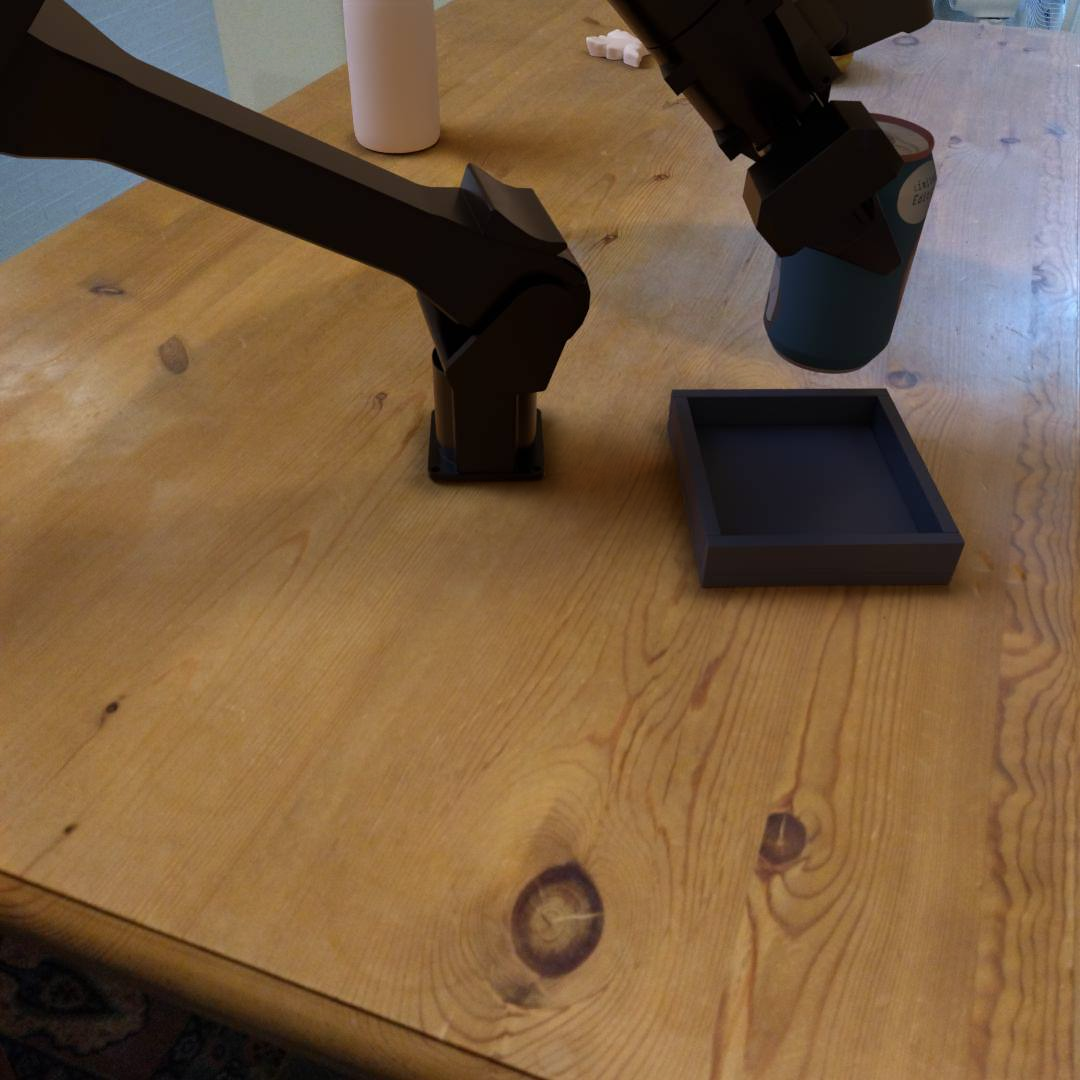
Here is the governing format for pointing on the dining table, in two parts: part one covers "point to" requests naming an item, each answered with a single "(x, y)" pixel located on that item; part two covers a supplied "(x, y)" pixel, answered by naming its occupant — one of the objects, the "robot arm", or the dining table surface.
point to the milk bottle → (393, 73)
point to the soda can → (853, 274)
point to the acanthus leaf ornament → (617, 47)
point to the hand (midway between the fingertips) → (874, 237)
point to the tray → (807, 490)
